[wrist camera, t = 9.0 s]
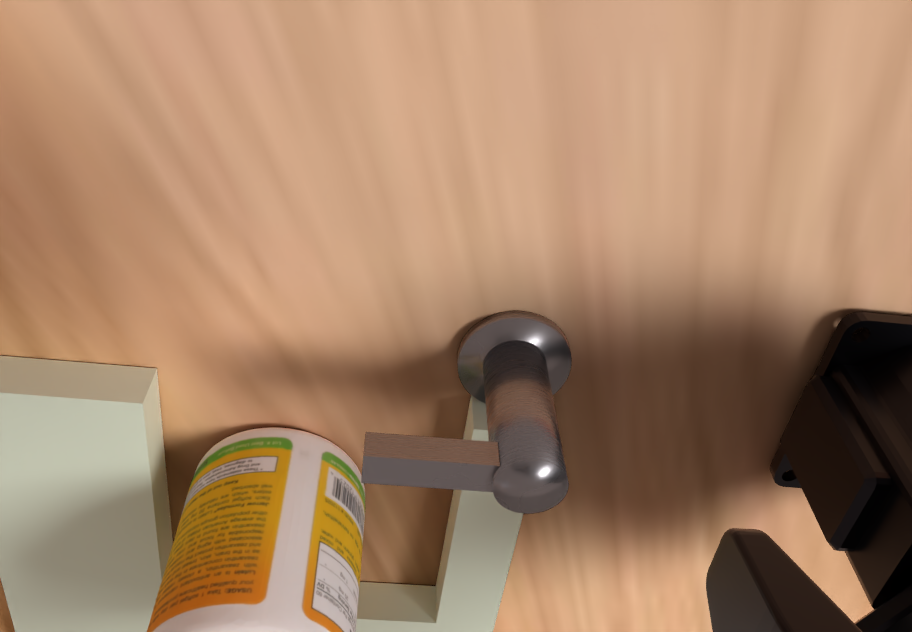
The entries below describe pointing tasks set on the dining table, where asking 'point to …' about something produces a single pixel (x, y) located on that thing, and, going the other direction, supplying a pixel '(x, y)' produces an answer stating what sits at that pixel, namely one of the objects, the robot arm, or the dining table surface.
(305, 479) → the supplement bottle
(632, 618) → the dining table surface
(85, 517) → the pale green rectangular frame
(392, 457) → the door lever handle
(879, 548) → the robot arm
